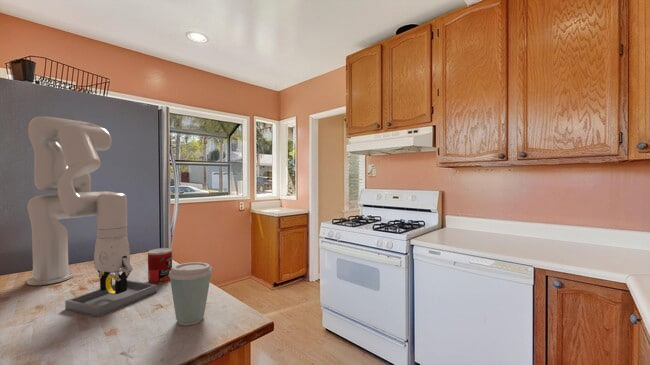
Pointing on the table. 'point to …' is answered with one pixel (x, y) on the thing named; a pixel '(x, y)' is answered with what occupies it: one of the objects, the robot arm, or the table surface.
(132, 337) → the table surface
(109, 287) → the watch
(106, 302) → the tray
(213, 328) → the table surface
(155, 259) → the canned food
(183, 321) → the disposable coffee cup
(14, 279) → the table surface
